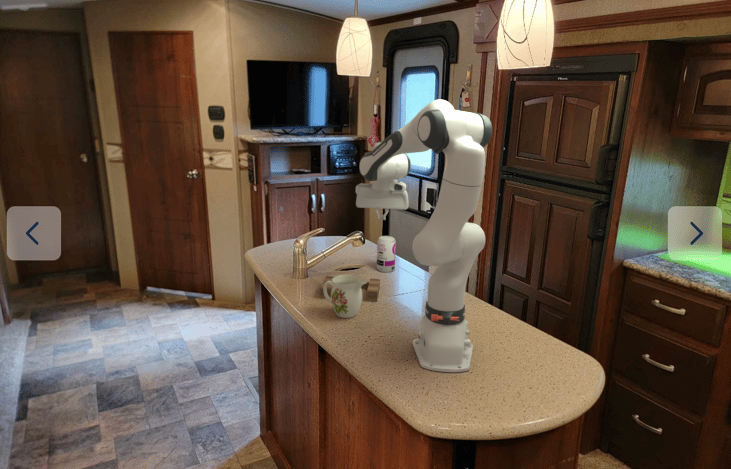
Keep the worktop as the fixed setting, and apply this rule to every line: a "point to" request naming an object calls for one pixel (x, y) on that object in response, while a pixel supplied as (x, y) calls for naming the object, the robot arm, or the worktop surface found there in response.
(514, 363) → the worktop surface
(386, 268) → the supplement can
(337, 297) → the pitcher
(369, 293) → the holder
